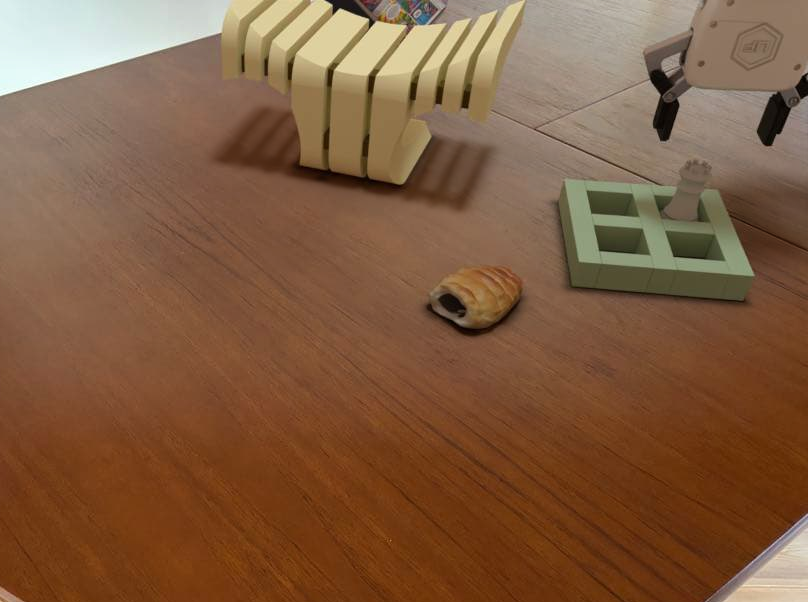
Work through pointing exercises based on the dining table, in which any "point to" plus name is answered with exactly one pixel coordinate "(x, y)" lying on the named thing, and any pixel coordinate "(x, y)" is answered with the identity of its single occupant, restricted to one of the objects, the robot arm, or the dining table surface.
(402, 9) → the colorful printed box
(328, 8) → the slatted curved stool
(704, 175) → the rook chess piece
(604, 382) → the dining table surface
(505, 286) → the pastry
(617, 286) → the window frame
